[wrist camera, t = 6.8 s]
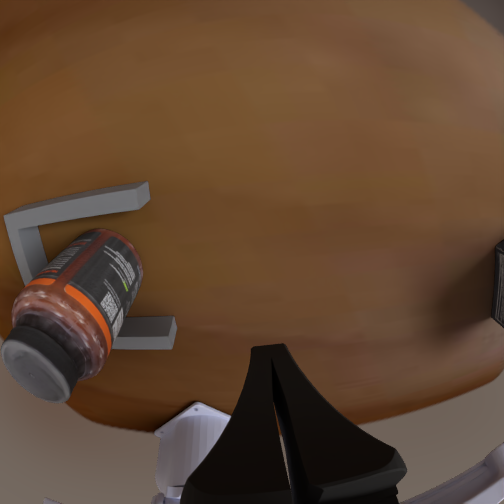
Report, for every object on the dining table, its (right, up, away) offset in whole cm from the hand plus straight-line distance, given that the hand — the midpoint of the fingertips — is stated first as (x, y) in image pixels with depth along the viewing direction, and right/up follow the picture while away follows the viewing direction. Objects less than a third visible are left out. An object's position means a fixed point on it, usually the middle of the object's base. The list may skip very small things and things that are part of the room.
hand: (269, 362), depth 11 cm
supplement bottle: (-11, +4, +8) cm, 14 cm away
